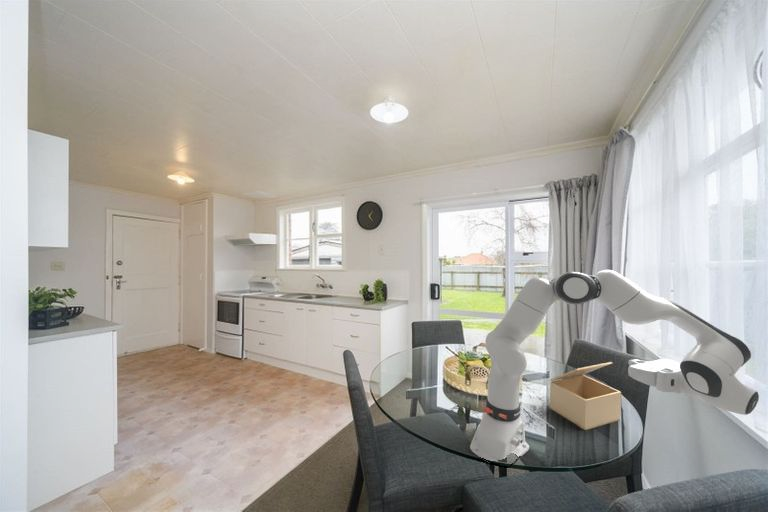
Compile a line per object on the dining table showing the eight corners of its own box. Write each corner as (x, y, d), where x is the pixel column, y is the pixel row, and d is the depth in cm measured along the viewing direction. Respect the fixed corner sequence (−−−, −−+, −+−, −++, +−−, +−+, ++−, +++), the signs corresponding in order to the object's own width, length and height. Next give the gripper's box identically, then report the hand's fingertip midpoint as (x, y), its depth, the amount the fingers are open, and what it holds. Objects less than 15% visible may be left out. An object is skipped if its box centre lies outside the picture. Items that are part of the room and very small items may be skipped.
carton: (619, 420, 121) (621, 391, 120) (584, 430, 114) (585, 400, 114) (582, 400, 136) (583, 374, 135) (549, 408, 130) (550, 381, 129)
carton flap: (612, 363, 123) (611, 361, 123) (577, 370, 117) (576, 368, 117) (583, 374, 135) (582, 372, 136) (550, 381, 129) (549, 379, 129)
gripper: (699, 364, 97) (650, 349, 110) (659, 373, 91) (612, 356, 104) (698, 382, 98) (649, 365, 111) (658, 392, 91) (612, 373, 104)
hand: (631, 361), depth 107 cm, fingers closed
